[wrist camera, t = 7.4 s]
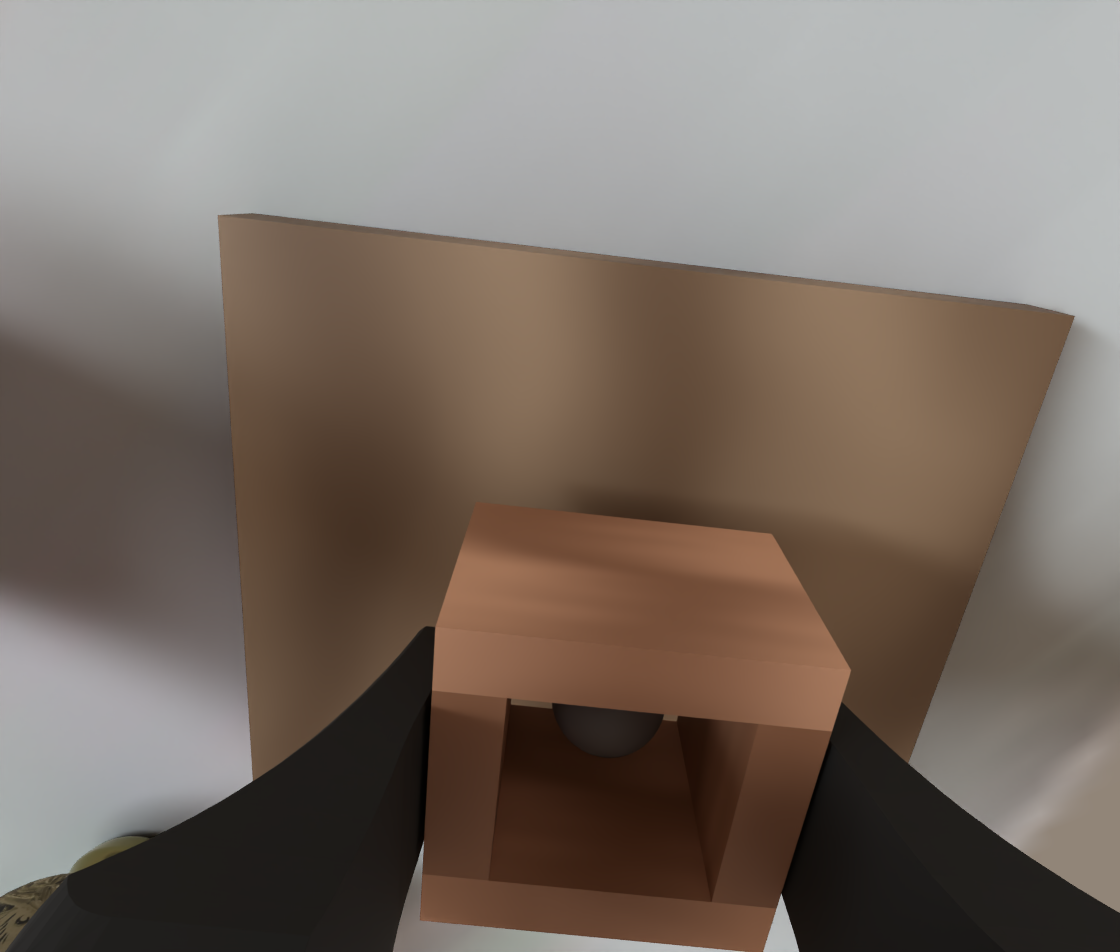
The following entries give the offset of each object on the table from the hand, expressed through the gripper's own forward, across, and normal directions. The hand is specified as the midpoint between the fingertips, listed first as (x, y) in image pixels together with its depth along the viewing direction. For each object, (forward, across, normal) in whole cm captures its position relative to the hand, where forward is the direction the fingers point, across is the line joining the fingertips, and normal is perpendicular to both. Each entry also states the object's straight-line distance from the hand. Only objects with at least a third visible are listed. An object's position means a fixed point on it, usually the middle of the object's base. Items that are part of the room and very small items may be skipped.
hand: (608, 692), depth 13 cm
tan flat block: (+5, 0, 0) cm, 5 cm away
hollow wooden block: (+1, 0, 0) cm, 1 cm away
